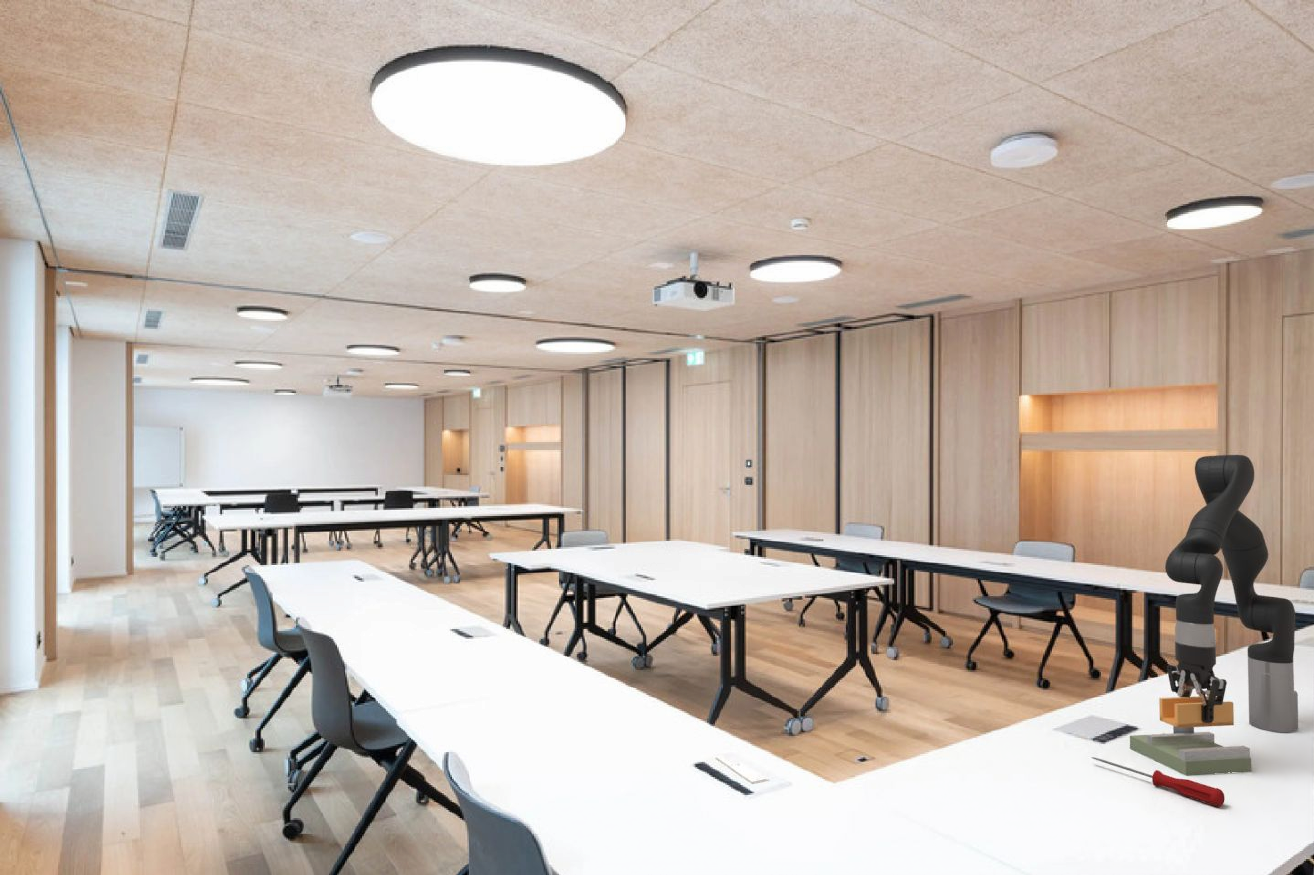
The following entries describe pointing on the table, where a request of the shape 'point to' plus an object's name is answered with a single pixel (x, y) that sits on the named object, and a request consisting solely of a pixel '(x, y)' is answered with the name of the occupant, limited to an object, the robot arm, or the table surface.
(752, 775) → the white flat rectangular slab
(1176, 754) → the marble run board
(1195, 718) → the discharge chute
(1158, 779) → the screwdriver
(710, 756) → the table surface
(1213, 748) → the chute cradle
